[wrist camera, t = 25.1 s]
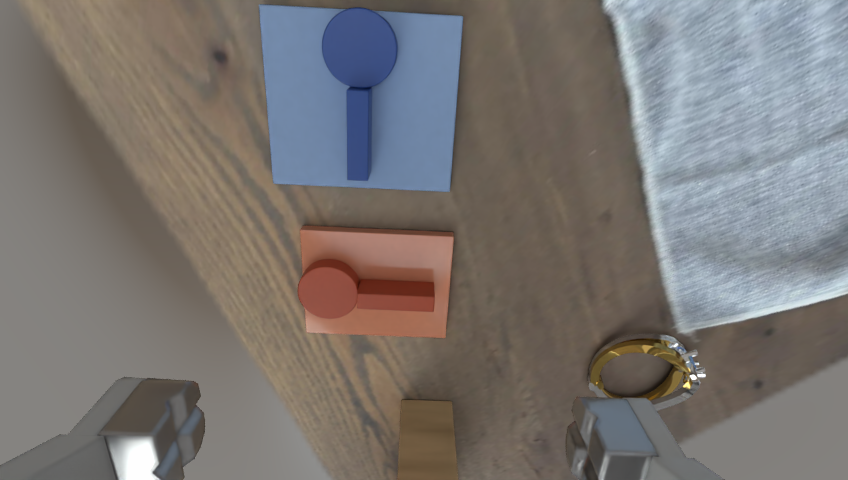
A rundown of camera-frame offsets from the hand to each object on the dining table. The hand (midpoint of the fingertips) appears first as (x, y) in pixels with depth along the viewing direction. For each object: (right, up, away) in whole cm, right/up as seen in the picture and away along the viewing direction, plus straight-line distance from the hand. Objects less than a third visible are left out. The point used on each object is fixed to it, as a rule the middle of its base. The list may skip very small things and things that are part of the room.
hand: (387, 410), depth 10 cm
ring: (+13, -7, +26) cm, 30 cm away
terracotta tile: (-2, +1, +23) cm, 23 cm away
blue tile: (-3, +12, +18) cm, 22 cm away
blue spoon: (-3, +12, +17) cm, 21 cm away
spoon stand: (+1, -13, +29) cm, 32 cm away
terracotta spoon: (-2, +1, +22) cm, 22 cm away
